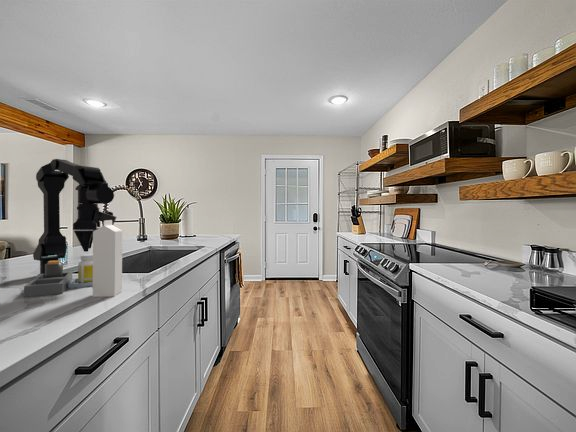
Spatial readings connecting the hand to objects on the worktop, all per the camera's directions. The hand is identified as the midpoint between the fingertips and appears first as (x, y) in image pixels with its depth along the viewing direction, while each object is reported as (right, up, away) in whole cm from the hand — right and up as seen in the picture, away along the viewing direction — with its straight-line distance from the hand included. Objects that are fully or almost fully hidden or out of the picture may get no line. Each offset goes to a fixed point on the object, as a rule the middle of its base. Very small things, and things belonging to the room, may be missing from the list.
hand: (87, 249), depth 108 cm
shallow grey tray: (-8, -11, -6) cm, 15 cm away
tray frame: (0, -12, 0) cm, 12 cm away
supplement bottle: (0, -12, 0) cm, 12 cm away
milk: (+14, -12, -13) cm, 23 cm away
